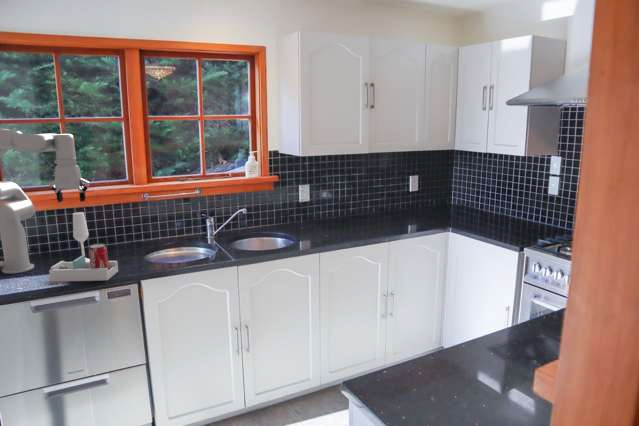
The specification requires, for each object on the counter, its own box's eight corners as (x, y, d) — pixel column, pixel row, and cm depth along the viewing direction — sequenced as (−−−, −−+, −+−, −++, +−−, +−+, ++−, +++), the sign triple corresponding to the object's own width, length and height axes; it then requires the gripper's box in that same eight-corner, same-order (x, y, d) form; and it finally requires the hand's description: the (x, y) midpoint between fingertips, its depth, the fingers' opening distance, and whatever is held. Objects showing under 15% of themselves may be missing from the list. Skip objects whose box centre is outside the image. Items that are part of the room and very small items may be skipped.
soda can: (104, 270, 210) (101, 242, 207) (112, 273, 205) (109, 245, 203) (88, 274, 205) (85, 245, 202) (96, 277, 200) (92, 248, 197)
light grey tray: (50, 281, 199) (48, 268, 198) (64, 272, 211) (63, 259, 209) (107, 280, 200) (106, 266, 198) (118, 271, 211) (117, 258, 210)
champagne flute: (84, 263, 223) (78, 214, 218) (73, 262, 225) (67, 214, 220) (94, 259, 229) (89, 212, 225) (83, 258, 231) (78, 211, 227)
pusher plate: (74, 276, 201) (72, 261, 199) (83, 270, 209) (81, 255, 207) (77, 276, 201) (75, 261, 199) (86, 270, 209) (84, 255, 207)
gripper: (42, 163, 199) (47, 203, 202) (83, 163, 200) (87, 202, 203) (51, 162, 206) (56, 200, 210) (90, 161, 207) (95, 199, 210)
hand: (71, 201), depth 206 cm, fingers open, 9 cm apart
